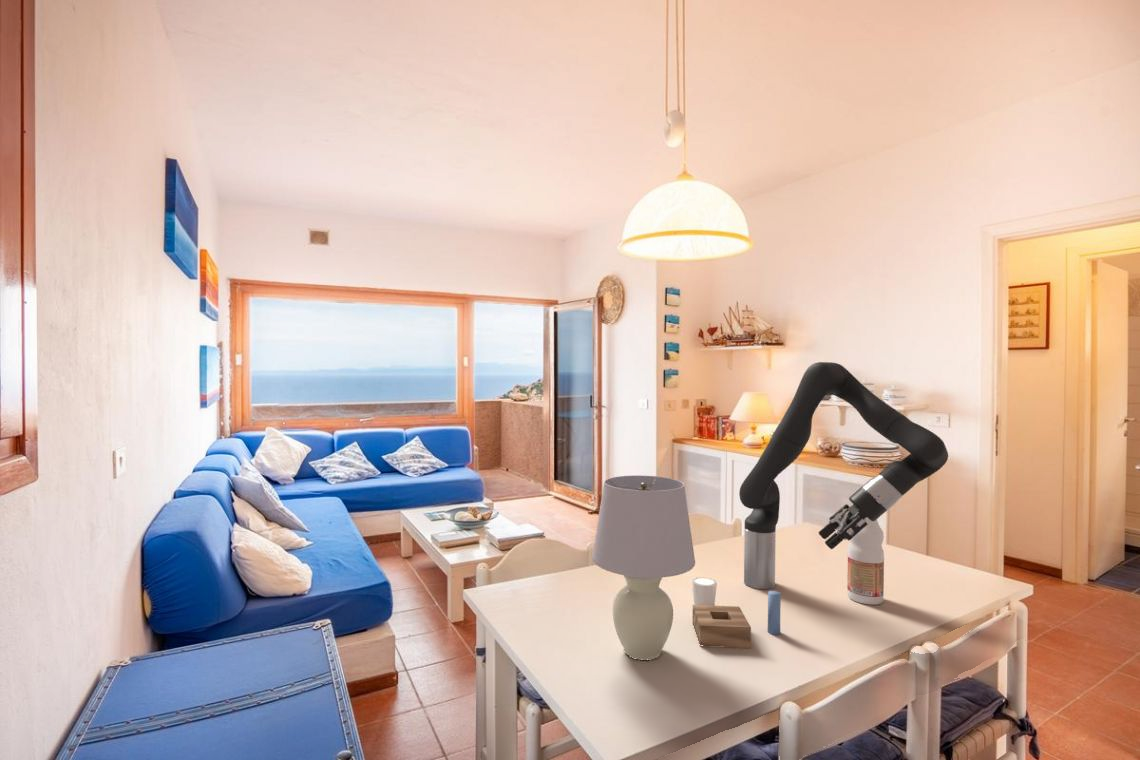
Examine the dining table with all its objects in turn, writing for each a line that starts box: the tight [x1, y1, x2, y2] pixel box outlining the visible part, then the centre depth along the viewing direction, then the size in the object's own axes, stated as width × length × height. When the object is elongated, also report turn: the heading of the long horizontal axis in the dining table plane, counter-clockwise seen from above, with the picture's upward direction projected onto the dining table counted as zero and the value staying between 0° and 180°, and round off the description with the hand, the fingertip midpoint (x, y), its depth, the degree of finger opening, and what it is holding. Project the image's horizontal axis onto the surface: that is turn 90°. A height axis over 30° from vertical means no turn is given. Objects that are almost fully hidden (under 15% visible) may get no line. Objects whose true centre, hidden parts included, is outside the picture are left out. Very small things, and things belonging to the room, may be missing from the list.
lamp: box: [591, 474, 696, 660], centre depth 131 cm, size 24×24×40 cm
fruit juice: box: [846, 517, 885, 606], centre depth 163 cm, size 9×9×28 cm
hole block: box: [692, 604, 752, 649], centre depth 140 cm, size 12×12×5 cm
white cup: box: [691, 576, 718, 606], centre depth 158 cm, size 7×7×7 cm
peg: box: [767, 590, 782, 636], centre depth 142 cm, size 3×3×10 cm
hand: (824, 541), depth 139 cm, fingers open, 8 cm apart
